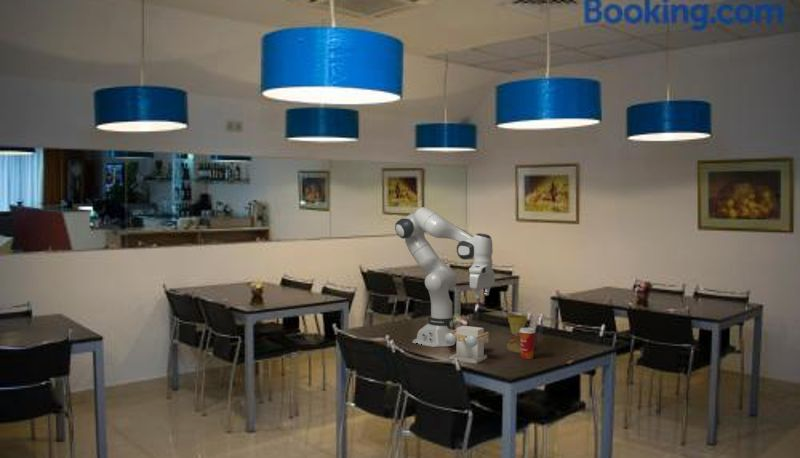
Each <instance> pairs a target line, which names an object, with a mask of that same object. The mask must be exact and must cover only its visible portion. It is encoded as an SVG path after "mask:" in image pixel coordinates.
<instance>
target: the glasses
mask: <svg viewBox="0 0 800 458" xmlns="http://www.w3.org/2000/svg"><path fill="white" fill-rule="evenodd" d="M455 332H457V328H456V329H453V330H452V331H450V332H447V333H445V335H446V336H445V341H446V343H448V344H453V343H455V344H456V342H457V341H460V338H462V341H463V342H464V341H465V338H467V339H466V343H467V345H468V346H469V347H474V346H476V345H477V339H479V338H481V337H483V336H486V335H487V336H488V338H487V339H486V343H487V344H488V343H489V338H490V335H489V334H490V333H489V331H486V332H484V334H481V335H479V336H476V337H475V336H469V337H467V335H460V334H455V335H454V334H453V333H455Z"/></svg>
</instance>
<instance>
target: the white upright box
mask: <svg viewBox="0 0 800 458" xmlns="http://www.w3.org/2000/svg"><path fill="white" fill-rule="evenodd" d="M456 329H457V332H455V333H453V334H454V335H455V334H460V335H467V337H469V336H475V337H476V336H479V335H481V334H484V333H485V328H484V327H477V326H469V325H461V326H459V327H456ZM487 338H488V336H487V335H486V336H483V337H481V338H479V339H477V345H476V346H474V347H469V346H468V345H467V343H466V339H467V338H465V341H464V342H463V341H462V338H460V341H457V340H456V345H455V346H456V353H454V354H451V355H450V356H449V357H448V358H449V360H450V359H453V358H457V359H458V360H459V361H458V362H463V363H469V364H478V363H480V362H482V361H484V360H486V359H488V355H487V354H484V351H485V350H484V349H485V348H484V339H487ZM450 361H451V360H450Z"/></svg>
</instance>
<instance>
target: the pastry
mask: <svg viewBox="0 0 800 458" xmlns="http://www.w3.org/2000/svg"><path fill="white" fill-rule="evenodd" d="M506 346H507V347H506V349H507V351H509V352H513V353H517V354H521V345H520V334H519V333H514V334H512V336H511V337H510V339H509V341H508V343H506Z"/></svg>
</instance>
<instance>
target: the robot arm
mask: <svg viewBox="0 0 800 458" xmlns="http://www.w3.org/2000/svg"><path fill="white" fill-rule="evenodd" d="M394 230H395V232H396V234H397V236H398V237H399V238H401V239H405V241H404V242H405V245H406V247H407V249H408V252H409V253H410V254H411V256H412V257H413V258H414V260H415V261H416V263H417V265H418V266H419V268H420V269H422V270H423V271H425V272H426V273H427V275H426V277H425V279H424V286H425V288H426V289H427V291H428V294H429V298H430V316H429V317H427V318H426V321H428V322H427V323H426V324H425V325H423V327H421V328H420V329H419V330H418V331H417V335H416V338H415V339H413V340H412V344H416V343H418V344H417V345H421V344H422V345H421V346H427V347H432V348H437V347H450V346H454V345H455V344H456V342H455V343H453V344H448V343H446V341H445V336H446V335H445V333H447V332H450V331H452V330H454V329H453V327H454V318H453V301H452V300H451V298H450V294H449V293H450V292H449V290H450V289H452V288H454V287H455V285H457V284H458V281H459V275H458V273H457V272H456V271H455V270H453V269H452V268H451V267H449V265H447V263H445V261H443V260H442V258H441V257H440V256H439V255H438V254H437V252H436V251H435V250H434V248H433V247H432V246H431V244H430V243H429V241H428V240H427V239H426V237H425V233H426V234H427V235H429V236H432V237H433V238H437V239H447V240H449V239H450V240H453V241H456V242H458V243H457V245H456V254H457V256H458V257H459V259H462V260H465V261H466V260H467V261H469V260H473V264H472V265H471V266H470V267H469V268H468V273H469V288H470V290H474V294H475V299H480V298H481V293H480V291H481V289H485V291H484V293H483V296H484V297H487V296H489V295H490V290H491V286H494V285H495V272H494V270H493V258H492V257H493V249H494V248H493V239H492V237H491V235H489V234H486V233H475V234H474V235H472V234H470V233H469V232H467V231H466V230H464V229H462V228H460V227H459V226H457V225H455V224H454V223H452V222H450V221H449V220H447V219H446V218H445V217H443V216H441V215H440V214H439V213H438V212H435V211H434V210H432V209H430V208H427V207H425V206H424V207H423V206H422V207H418V208H417V209H416V210H415V212H412V213H409V214H408V215H406V216H404V217H402V218H400V219H399V220H397V221H396V222H395V225H394Z"/></svg>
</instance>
